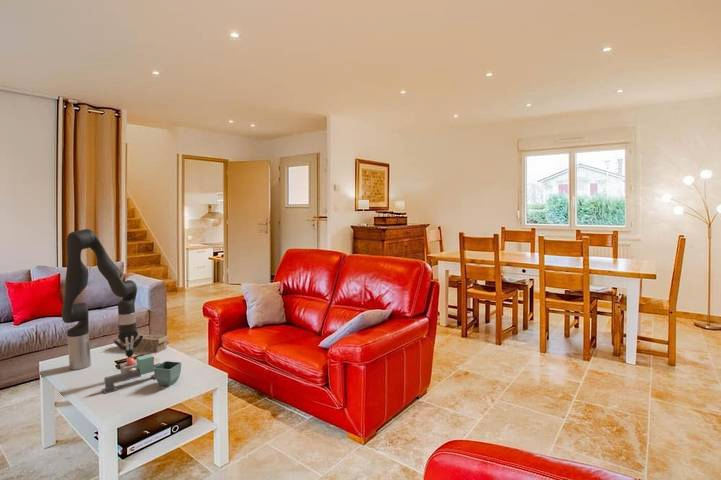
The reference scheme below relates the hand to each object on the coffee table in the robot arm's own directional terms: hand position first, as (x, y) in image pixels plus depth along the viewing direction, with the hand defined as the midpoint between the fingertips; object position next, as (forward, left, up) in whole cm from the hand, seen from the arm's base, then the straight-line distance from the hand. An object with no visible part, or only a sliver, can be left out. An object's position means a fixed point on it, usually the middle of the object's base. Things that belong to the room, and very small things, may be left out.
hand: (129, 356), depth 201 cm
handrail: (+10, -1, -10) cm, 14 cm away
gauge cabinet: (0, 0, -10) cm, 10 cm away
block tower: (-39, +17, -10) cm, 44 cm away
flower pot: (+22, +10, -10) cm, 26 cm away
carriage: (+10, +4, -6) cm, 12 cm away
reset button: (0, 0, -6) cm, 6 cm away
